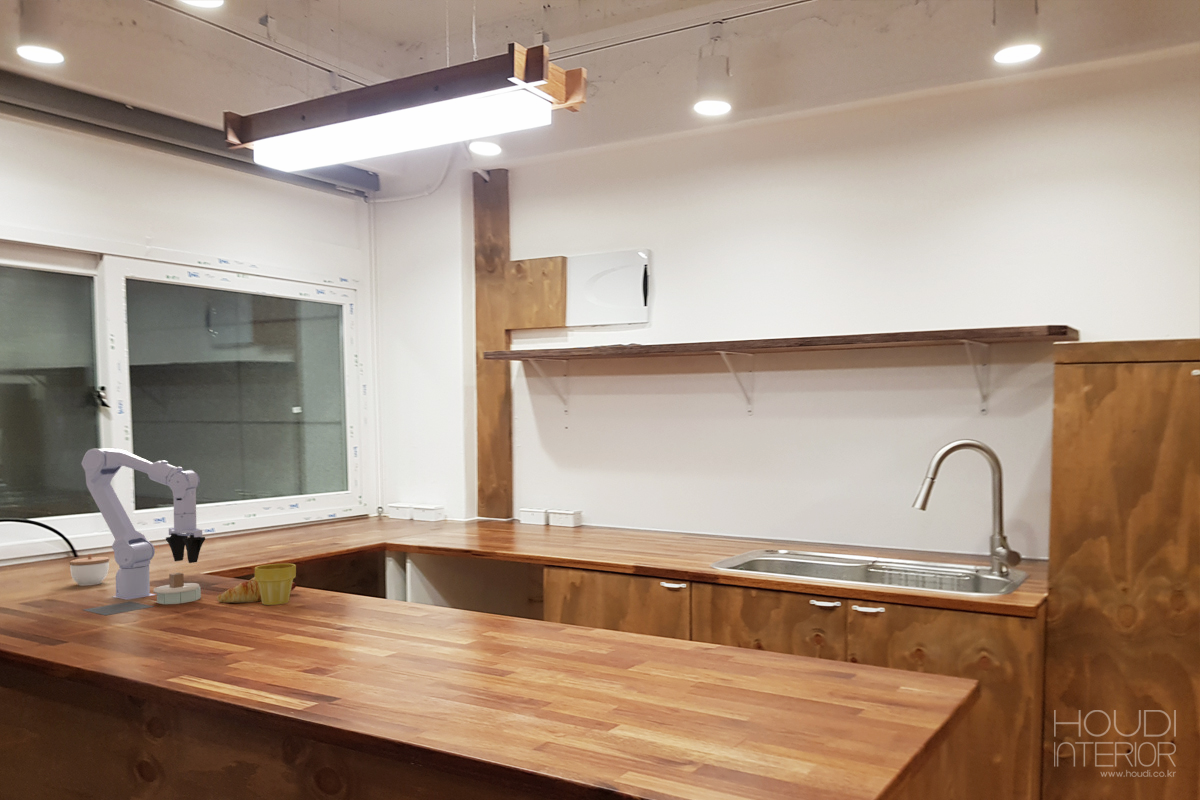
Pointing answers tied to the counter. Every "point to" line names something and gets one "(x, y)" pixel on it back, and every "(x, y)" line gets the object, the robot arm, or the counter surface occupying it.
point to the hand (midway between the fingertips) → (185, 561)
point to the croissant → (244, 593)
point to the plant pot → (275, 582)
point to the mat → (117, 608)
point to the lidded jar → (89, 570)
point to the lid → (176, 585)
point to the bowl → (179, 597)
